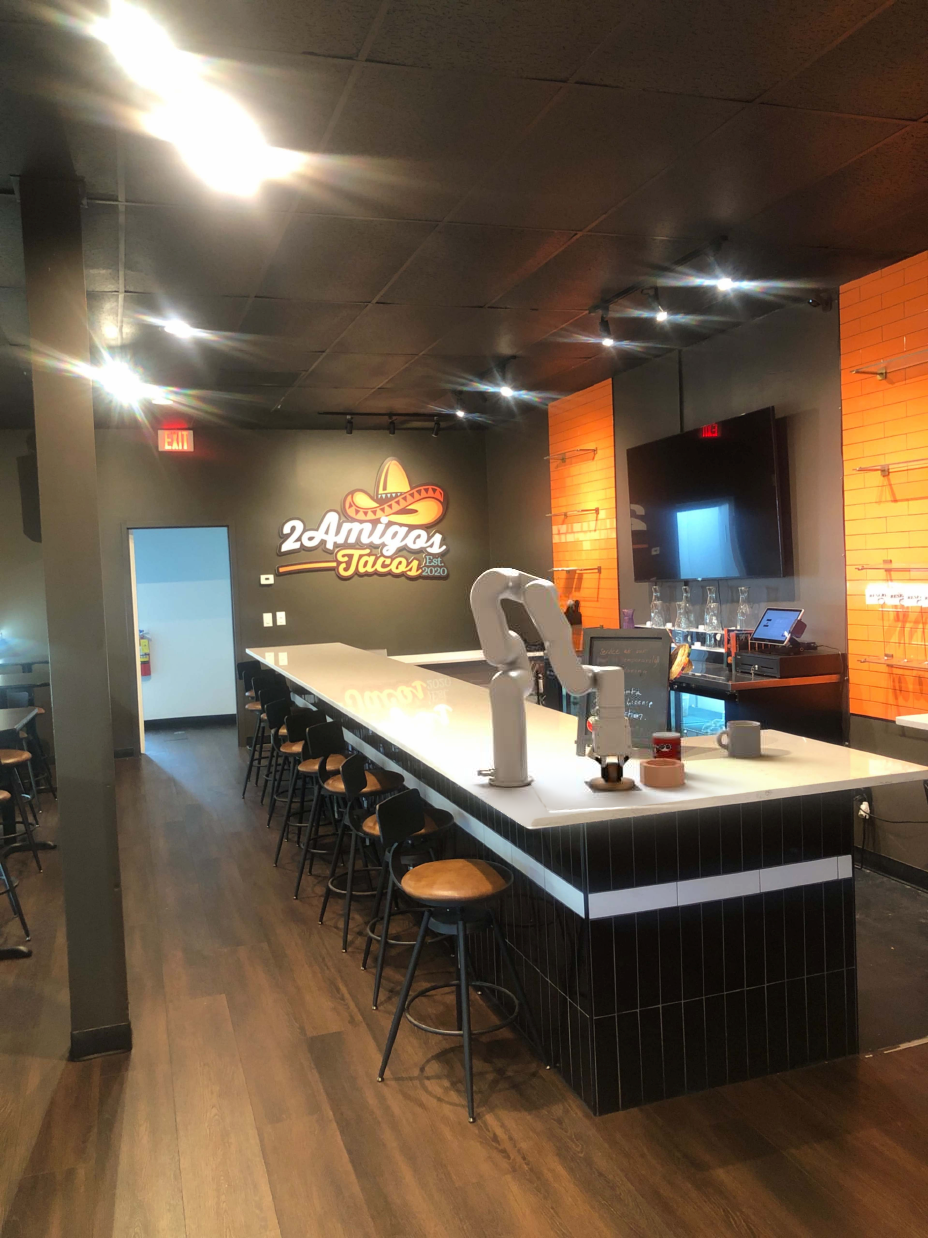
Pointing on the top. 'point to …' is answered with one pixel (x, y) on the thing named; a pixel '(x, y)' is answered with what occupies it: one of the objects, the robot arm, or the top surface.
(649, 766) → the bowl
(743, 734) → the coffee mug
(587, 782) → the mat
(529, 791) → the top surface
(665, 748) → the canned food
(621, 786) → the lid
